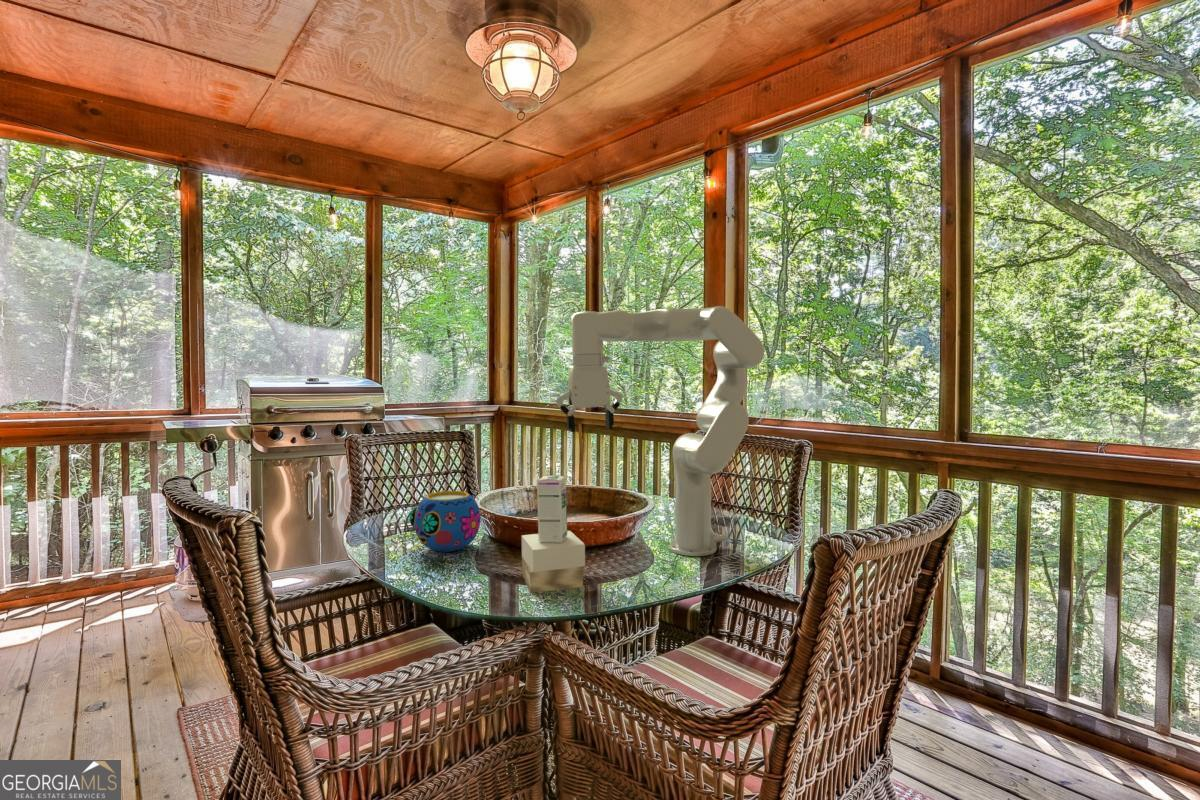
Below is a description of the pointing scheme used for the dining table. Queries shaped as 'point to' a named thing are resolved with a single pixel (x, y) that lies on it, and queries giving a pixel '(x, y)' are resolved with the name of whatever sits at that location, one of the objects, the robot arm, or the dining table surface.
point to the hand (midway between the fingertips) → (590, 430)
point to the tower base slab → (552, 578)
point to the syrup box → (552, 509)
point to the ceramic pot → (446, 520)
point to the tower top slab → (553, 553)
